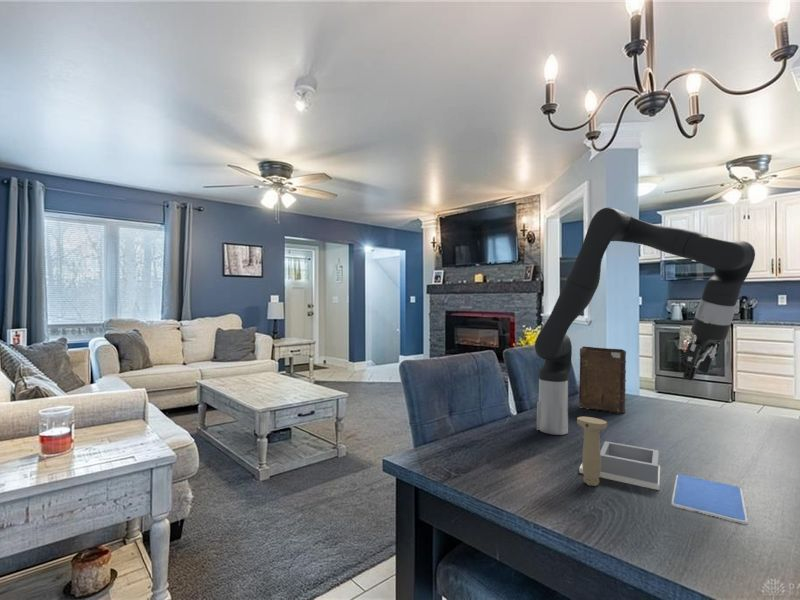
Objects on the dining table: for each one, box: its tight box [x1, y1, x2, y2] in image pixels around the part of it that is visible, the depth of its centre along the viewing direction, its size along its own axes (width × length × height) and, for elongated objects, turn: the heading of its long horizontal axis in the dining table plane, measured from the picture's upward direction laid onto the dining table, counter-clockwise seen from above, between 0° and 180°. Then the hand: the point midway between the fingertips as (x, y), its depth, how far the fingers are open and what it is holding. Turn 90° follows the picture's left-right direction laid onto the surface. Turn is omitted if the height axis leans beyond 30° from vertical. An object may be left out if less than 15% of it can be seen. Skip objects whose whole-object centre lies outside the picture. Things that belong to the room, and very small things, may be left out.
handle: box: [576, 416, 608, 487], centre depth 97 cm, size 5×6×15 cm
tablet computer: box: [670, 474, 749, 525], centre depth 90 cm, size 19×13×1 cm, turn 143°
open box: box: [578, 440, 661, 491], centre depth 104 cm, size 17×14×5 cm
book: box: [578, 346, 627, 414], centre depth 165 cm, size 17×7×25 cm, turn 54°
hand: (695, 375), depth 110 cm, fingers open, 8 cm apart
